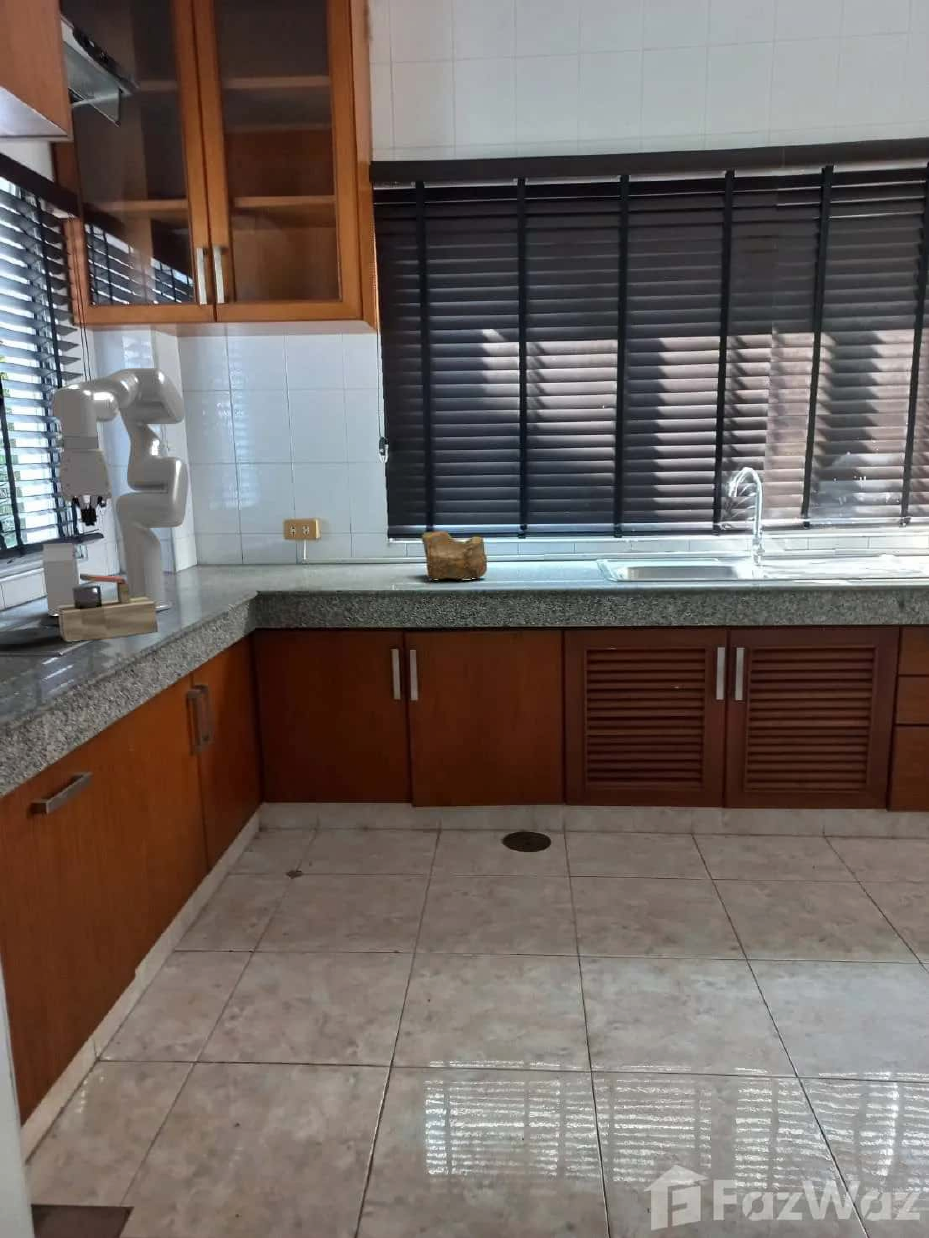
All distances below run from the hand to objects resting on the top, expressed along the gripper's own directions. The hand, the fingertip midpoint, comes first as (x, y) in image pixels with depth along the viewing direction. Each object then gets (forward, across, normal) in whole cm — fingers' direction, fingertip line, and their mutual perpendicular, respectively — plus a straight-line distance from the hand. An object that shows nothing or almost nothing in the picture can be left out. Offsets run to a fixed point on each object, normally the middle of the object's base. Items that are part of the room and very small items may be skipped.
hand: (89, 525), depth 195 cm
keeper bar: (+13, +1, 0) cm, 13 cm away
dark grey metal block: (+25, -2, 0) cm, 25 cm away
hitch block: (+26, +2, 0) cm, 26 cm away
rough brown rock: (+27, +109, +18) cm, 113 cm away
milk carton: (+26, -3, +32) cm, 41 cm away
